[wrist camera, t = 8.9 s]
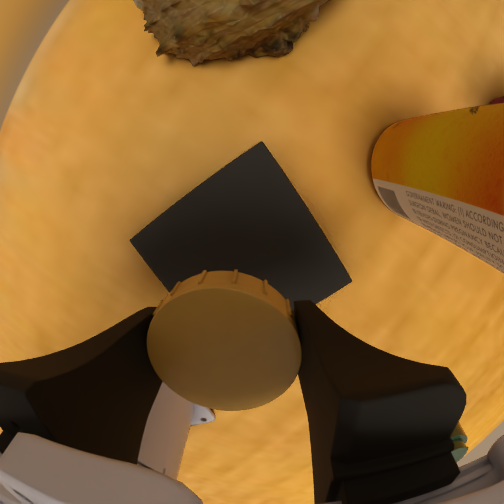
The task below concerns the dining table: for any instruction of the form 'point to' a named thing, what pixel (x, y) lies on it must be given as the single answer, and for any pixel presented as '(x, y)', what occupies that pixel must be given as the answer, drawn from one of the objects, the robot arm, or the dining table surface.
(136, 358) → the robot arm
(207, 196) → the coaster
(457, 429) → the jar
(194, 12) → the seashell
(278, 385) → the lid
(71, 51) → the dining table surface
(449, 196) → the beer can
